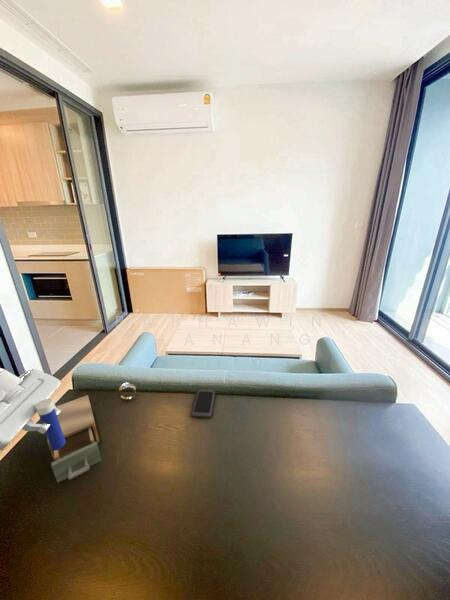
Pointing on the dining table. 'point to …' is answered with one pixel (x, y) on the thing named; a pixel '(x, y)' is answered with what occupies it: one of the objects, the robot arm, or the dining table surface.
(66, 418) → the cabinet
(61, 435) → the disc
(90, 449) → the drawer
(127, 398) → the ring
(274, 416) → the dining table surface
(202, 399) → the cell phone
